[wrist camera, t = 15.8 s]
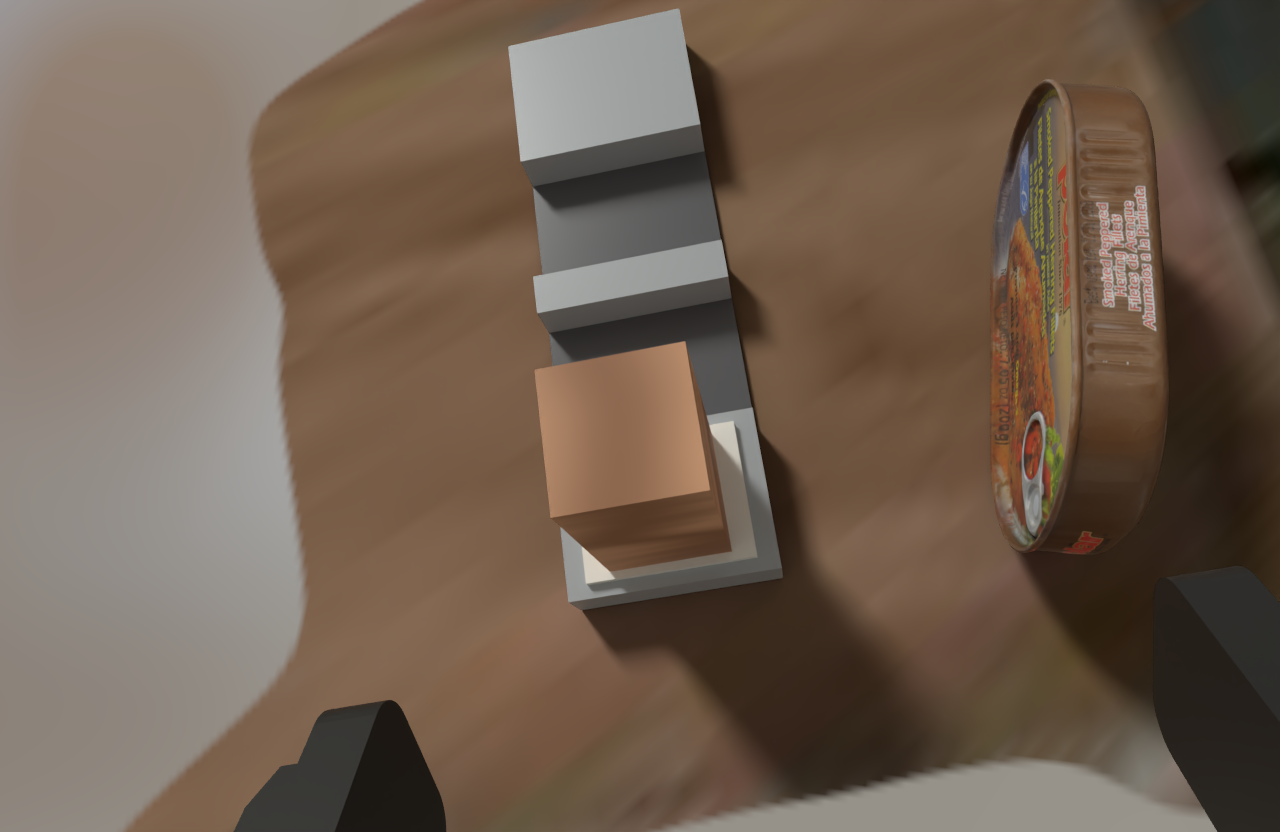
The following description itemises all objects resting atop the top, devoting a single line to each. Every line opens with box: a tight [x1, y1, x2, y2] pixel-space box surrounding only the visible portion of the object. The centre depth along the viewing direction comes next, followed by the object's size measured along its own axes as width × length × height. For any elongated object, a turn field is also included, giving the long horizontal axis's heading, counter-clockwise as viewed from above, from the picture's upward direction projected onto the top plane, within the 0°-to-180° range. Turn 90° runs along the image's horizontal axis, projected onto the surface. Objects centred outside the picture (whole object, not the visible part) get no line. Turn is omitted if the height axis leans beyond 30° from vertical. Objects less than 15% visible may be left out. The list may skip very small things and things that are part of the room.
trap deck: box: [508, 9, 783, 610], centre depth 36 cm, size 7×22×2 cm, turn 8°
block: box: [535, 341, 732, 572], centre depth 28 cm, size 4×4×8 cm
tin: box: [991, 79, 1169, 555], centre depth 30 cm, size 15×3×8 cm, turn 173°
